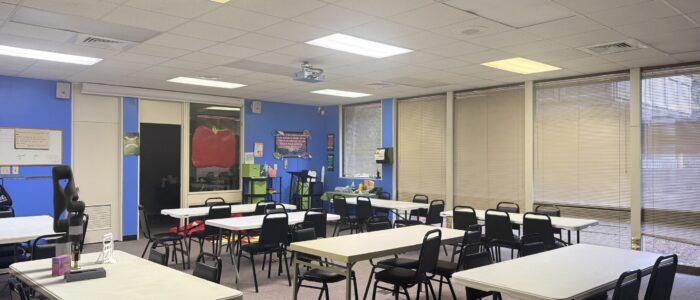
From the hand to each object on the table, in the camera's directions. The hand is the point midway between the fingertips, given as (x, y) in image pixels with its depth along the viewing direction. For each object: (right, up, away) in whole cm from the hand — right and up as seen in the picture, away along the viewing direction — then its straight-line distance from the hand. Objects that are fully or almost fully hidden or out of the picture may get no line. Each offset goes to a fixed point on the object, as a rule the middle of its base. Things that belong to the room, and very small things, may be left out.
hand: (75, 260), depth 304 cm
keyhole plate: (+4, -12, +3) cm, 13 cm away
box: (-16, -12, +13) cm, 24 cm away
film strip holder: (-4, -12, +51) cm, 53 cm away
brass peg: (0, -5, 0) cm, 5 cm away
